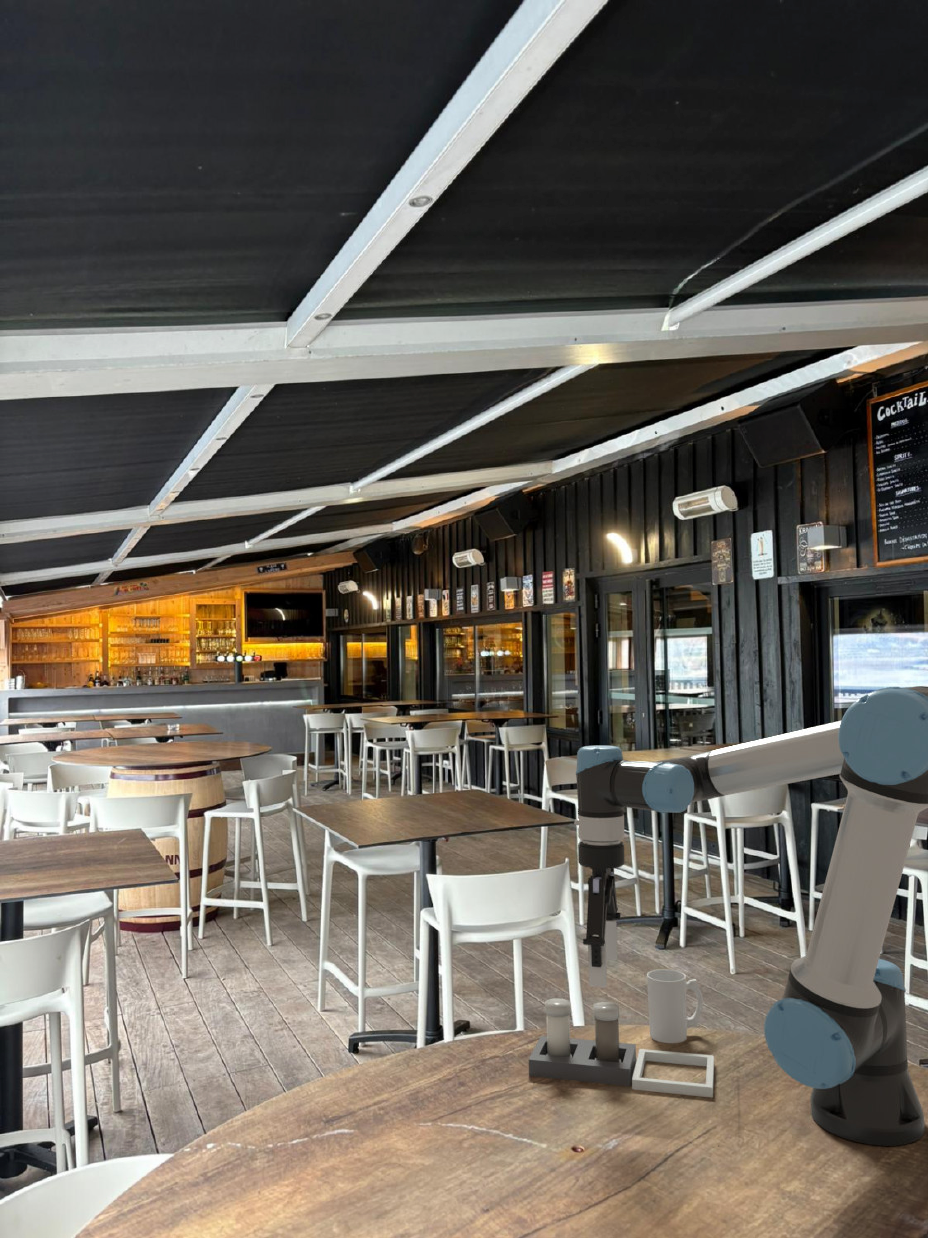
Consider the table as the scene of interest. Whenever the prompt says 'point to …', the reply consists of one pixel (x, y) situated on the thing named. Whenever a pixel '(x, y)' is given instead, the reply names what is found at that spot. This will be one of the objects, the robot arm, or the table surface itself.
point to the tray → (674, 1086)
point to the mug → (671, 1005)
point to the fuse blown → (606, 1031)
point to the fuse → (558, 1027)
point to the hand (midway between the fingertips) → (603, 972)
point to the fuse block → (583, 1063)
